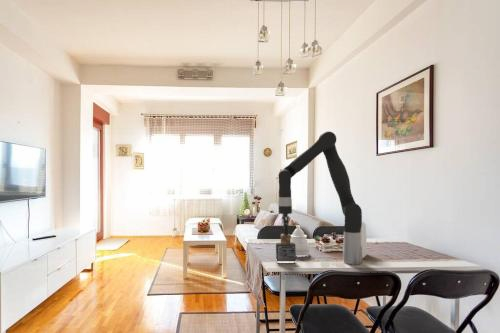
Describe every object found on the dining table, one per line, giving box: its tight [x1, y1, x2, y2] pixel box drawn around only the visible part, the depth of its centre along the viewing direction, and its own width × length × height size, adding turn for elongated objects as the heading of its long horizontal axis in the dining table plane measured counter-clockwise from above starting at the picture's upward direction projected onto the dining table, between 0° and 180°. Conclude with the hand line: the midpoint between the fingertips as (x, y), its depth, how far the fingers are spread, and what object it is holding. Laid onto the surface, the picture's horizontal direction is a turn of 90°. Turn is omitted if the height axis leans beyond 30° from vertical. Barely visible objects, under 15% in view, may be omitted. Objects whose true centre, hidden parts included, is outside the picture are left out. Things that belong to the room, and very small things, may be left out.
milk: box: [342, 220, 368, 259], centre depth 217 cm, size 12×12×26 cm
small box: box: [275, 242, 297, 262], centre depth 202 cm, size 11×6×10 cm, turn 92°
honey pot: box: [290, 225, 310, 255], centre depth 219 cm, size 13×13×18 cm
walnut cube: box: [280, 233, 291, 244], centre depth 202 cm, size 5×5×5 cm
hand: (285, 233), depth 202 cm, fingers open, 8 cm apart
